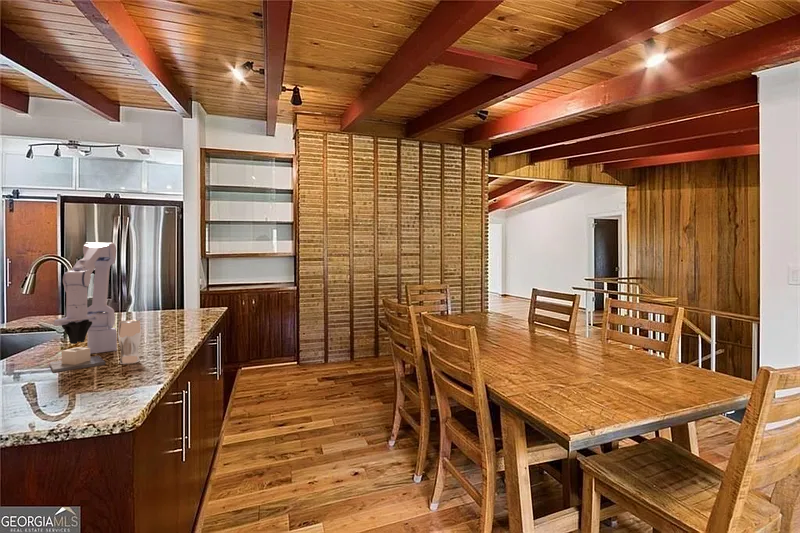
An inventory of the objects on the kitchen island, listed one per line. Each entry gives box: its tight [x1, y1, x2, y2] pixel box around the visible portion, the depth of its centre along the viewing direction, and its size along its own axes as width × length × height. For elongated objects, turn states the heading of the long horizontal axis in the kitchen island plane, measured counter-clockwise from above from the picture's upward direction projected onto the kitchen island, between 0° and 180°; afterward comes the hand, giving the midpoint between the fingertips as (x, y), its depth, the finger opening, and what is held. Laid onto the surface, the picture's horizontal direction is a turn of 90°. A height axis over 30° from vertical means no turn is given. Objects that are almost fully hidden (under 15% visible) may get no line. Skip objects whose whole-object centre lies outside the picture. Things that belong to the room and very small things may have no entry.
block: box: [61, 346, 91, 365], centre depth 141 cm, size 6×6×4 cm
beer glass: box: [117, 319, 142, 365], centre depth 145 cm, size 7×7×15 cm
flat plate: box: [49, 355, 106, 373], centre depth 141 cm, size 14×12×4 cm
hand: (77, 342), depth 141 cm, fingers open, 2 cm apart
